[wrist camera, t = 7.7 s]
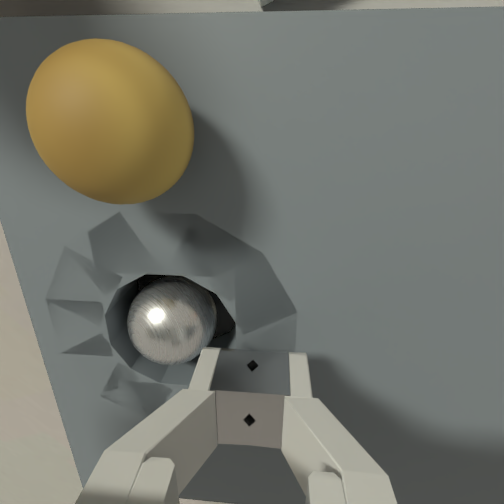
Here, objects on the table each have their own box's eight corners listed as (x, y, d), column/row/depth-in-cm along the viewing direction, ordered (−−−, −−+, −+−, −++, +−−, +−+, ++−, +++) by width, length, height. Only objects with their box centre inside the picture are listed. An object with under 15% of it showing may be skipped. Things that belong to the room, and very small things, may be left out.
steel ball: (234, 278, 11) (160, 317, 9) (235, 349, 12) (170, 401, 10) (176, 255, 13) (102, 283, 10) (182, 319, 14) (116, 358, 12)
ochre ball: (205, 58, 7) (154, 9, 4) (210, 191, 8) (173, 224, 6) (77, 59, 8) (-53, 13, 5) (100, 189, 9) (9, 219, 6)
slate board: (706, 36, 8) (871, -1, 6) (501, 471, 15) (542, 533, 13) (18, 45, 10) (-62, 18, 7) (110, 438, 16) (83, 488, 14)
